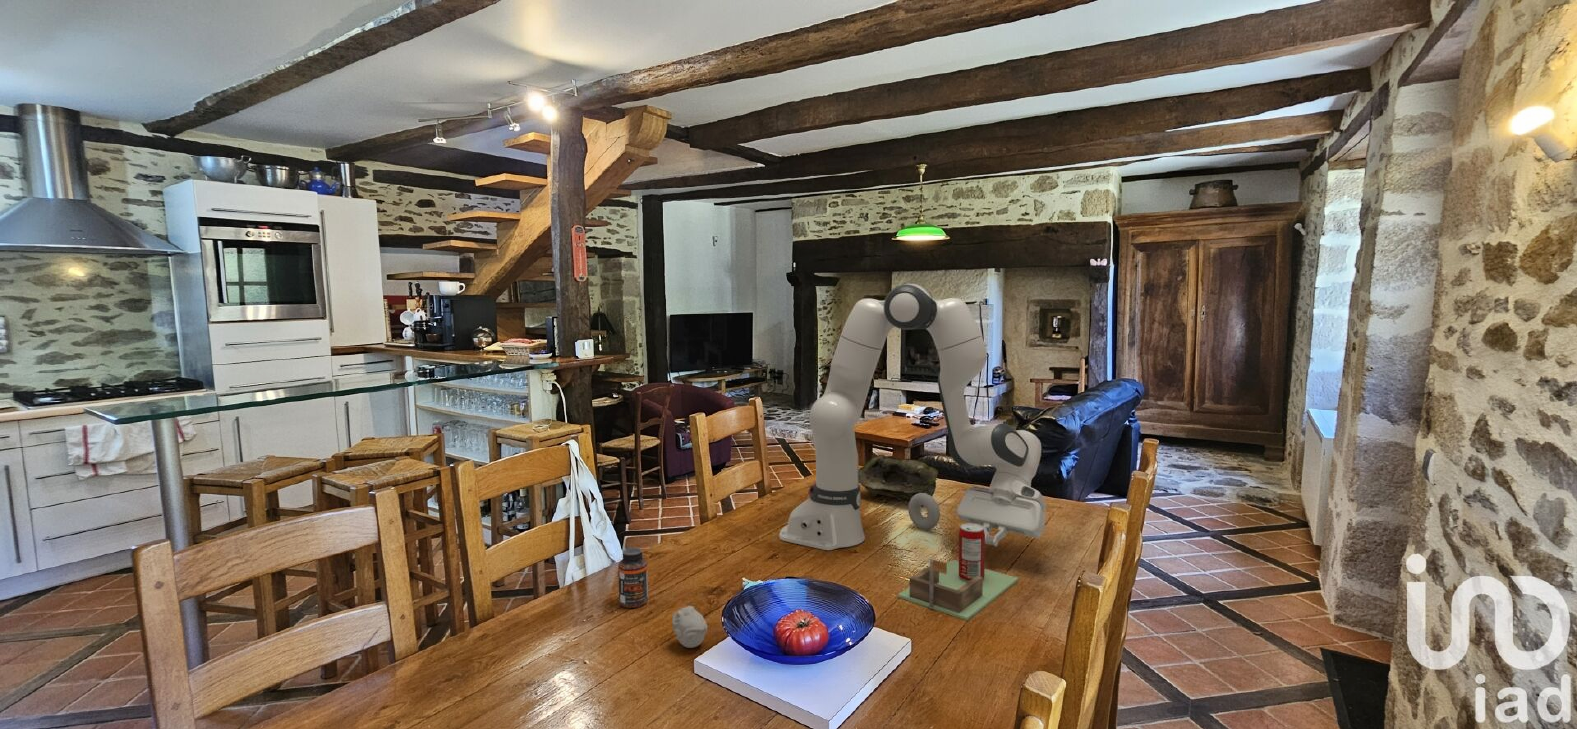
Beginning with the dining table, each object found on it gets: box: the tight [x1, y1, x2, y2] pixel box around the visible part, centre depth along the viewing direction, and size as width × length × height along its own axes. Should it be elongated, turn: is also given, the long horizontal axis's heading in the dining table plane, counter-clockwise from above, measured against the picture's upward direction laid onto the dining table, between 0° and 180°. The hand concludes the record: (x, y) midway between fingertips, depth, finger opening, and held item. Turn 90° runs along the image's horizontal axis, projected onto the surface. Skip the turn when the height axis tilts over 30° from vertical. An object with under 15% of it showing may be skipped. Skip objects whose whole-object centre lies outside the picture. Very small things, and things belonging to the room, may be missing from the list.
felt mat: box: [897, 559, 1019, 622], centre depth 146 cm, size 24×16×1 cm, turn 138°
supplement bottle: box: [617, 547, 649, 609], centre depth 141 cm, size 6×6×11 cm
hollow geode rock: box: [858, 454, 939, 508], centre depth 208 cm, size 28×13×15 cm
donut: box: [907, 493, 941, 531], centre depth 182 cm, size 10×4×10 cm, turn 40°
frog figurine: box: [671, 605, 709, 649], centre depth 124 cm, size 6×7×7 cm
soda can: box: [958, 522, 986, 582], centre depth 149 cm, size 6×6×12 cm
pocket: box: [909, 557, 983, 613], centre depth 140 cm, size 12×11×10 cm
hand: (989, 544), depth 156 cm, fingers closed
